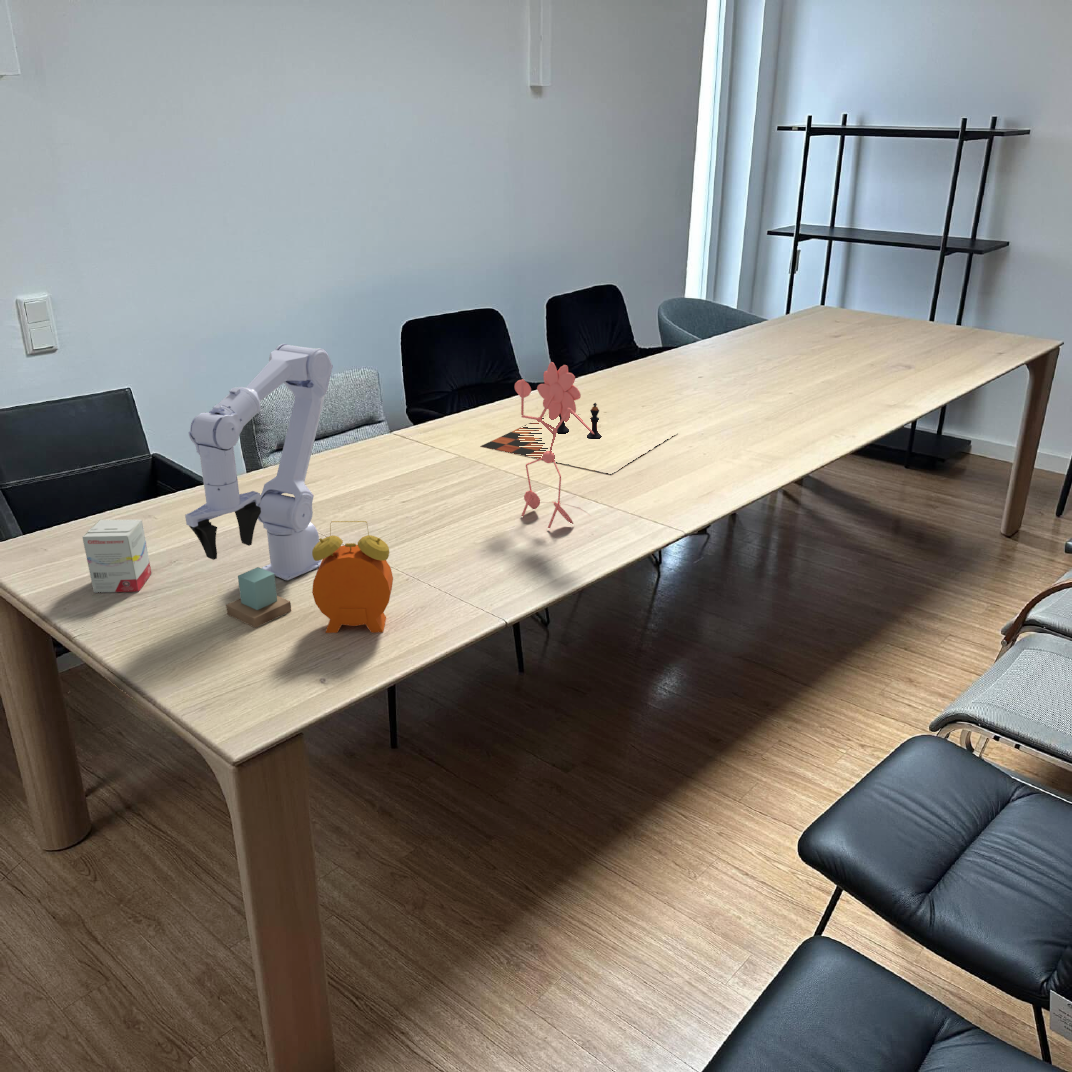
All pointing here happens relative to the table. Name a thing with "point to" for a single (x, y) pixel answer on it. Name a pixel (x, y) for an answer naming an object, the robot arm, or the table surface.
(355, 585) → the alarm clock
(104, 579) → the ink box
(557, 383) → the figurine
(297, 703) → the table surface
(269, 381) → the robot arm
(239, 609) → the walnut slab
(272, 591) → the teal block
